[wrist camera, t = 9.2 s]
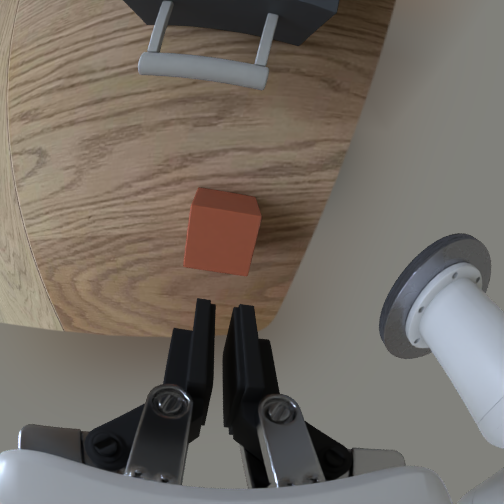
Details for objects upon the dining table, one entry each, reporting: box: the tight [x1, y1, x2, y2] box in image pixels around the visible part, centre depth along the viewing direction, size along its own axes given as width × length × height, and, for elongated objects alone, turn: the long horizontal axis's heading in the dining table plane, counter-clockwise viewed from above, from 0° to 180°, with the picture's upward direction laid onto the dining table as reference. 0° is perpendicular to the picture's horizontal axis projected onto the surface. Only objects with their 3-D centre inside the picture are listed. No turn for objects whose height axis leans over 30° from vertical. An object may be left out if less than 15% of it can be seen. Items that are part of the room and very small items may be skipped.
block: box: [183, 188, 262, 276], centre depth 20 cm, size 5×5×5 cm
